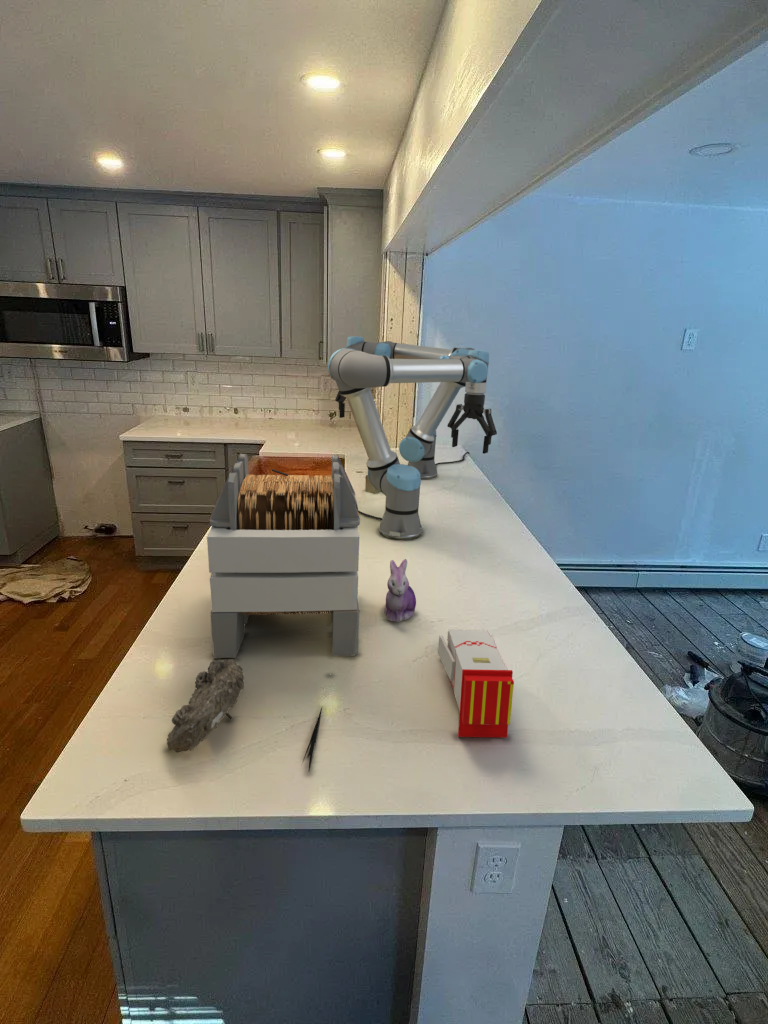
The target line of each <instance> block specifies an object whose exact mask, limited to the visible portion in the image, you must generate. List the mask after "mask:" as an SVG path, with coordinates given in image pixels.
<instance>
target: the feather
mask: <svg viewBox="0 0 768 1024" xmlns="http://www.w3.org/2000/svg"><path fill="white" fill-rule="evenodd" d="M329 675H330V676H331V675H332V674H331V673H330V674H329ZM322 710H323V707H321V708H320V710H319V713H318V716H317V719H316V723H315V725H314V728H313V731H312V733H311V737H310V739H309V742H308V745H307V748H306V751H305V754H304V757H303V760H302V763H301V767H302V765H303V763H304V761H305V758H308V759H309V760H308V762H307V763H308V764H307V766H308V771H310V770H311V766H312V765H311V764H312V760H313V757H315V756H314V755H315V751H316V749H315V746H317V739H318V733H319V729H320V722H321V717H322V712H323V711H322ZM313 754H314V755H313ZM306 755H307V757H306Z"/></svg>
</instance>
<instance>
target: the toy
mask: <svg viewBox="0 0 768 1024" xmlns="http://www.w3.org/2000/svg"><path fill="white" fill-rule="evenodd" d="M446 640H447V643H446V641H445V639H444V636H443V635H442V634H439V637H438V646H437V656H438V657H439V659H440V661H441V663H442V666H443V668H444V670H445V672H446V674H447V677H448V679H449V681H450V684H451V687H452V690H453V693H454V697H455V701H456V705H457V708H458V711H459V714H458V715H459V716H458V730H457V731H458V732H457V737H458V738H508V731H509V726H510V725H511V717H512V707H513V697H514V696H513V695H514V684H515V680H514V679H513V673H514V671H513V670H512V669H508V667H507V665H506V662H505V661H504V659H503V658H502V655H501V653H500V651H499V649H498V647H497V643H496V639H495V637H494V635H493V634H491V632H490V631H489V629H467V628H466V629H465V628H463V629H461V628H460V629H459V628H448V630H447V639H446Z"/></svg>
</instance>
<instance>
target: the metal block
mask: <svg viewBox="0 0 768 1024" xmlns="http://www.w3.org/2000/svg"><path fill="white" fill-rule="evenodd" d="M364 485H365V486H364V491H365V492H368V493H371V494H375V495H376V494H378V493H381V492H380V491H379V490H377V489H376V488H375V487H373V485H372V484H371V482H370V481H369V478H368V474H366V475H365V483H364Z"/></svg>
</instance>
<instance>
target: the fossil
mask: <svg viewBox="0 0 768 1024" xmlns="http://www.w3.org/2000/svg"><path fill="white" fill-rule="evenodd" d="M243 670H244V669H243V667H242V665H240V664H237V662H236V661H235V660H234V659H233V658H230V659H229V658H226V659H224V660H223V661H222V660H217V659H212V660H211V661H210V663H209V665H208V666H207V671H201V672H199V673H198V674H197V675H196V676H195V680H194V684H195V685H194V687H195V689H194V690H193V693H192V694H191V697H190V698H189V700H188V704H184V705H182V706H181V707H180V709H177V710H176V711H175V713H174V715H173V716H172V718H171V723H172V724H173V727H172V730H171V731H170V732H168V734H167V738H166V741H167V742H166V745H167V749H168V750H169V751H173V752H174V753H176V754H178V753H182V752H188V751H189V752H192V751H193V750H195V748H196V747H197V746H199V744H200V743H201V742H203V741H204V740H205V739H206V738H207V737H208V736H209V735H210V734H211V733H212V732H214V730H215V729H217V727H218V726H219V724H220V722H221V721H222V720H223V719H224V718H225V716H226V717H227V719H229V720H233V717H232V715H230V714H229V710H230V709H231V708H234V706H235V704H236V703H237V702H238V699H239V697H240V695H241V693H242V691H243V690H245V689H244V688H245V675H244V671H243Z"/></svg>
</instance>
